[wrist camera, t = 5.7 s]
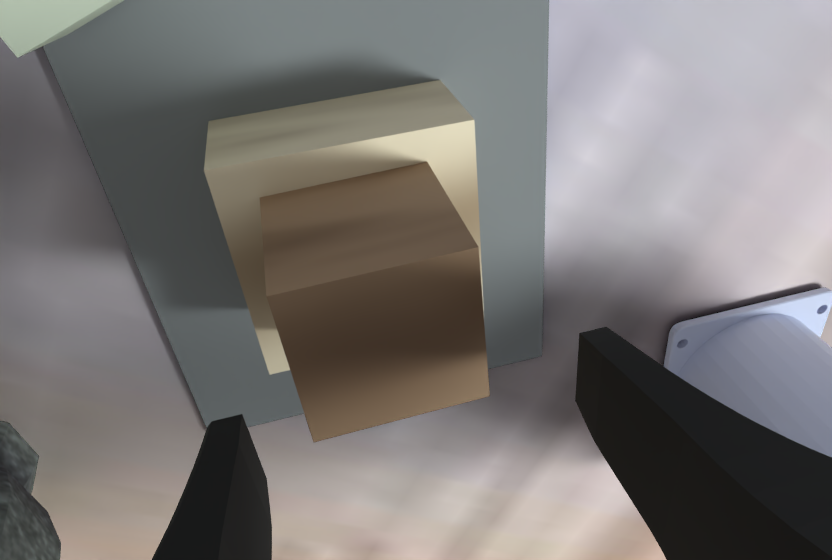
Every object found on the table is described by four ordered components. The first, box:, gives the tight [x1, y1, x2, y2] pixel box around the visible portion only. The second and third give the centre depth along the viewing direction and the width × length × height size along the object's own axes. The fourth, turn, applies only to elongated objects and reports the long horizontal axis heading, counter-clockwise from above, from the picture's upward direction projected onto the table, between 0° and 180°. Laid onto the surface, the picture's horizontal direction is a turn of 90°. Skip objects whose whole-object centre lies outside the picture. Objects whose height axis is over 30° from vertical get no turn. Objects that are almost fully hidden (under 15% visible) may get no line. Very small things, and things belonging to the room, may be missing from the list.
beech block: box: [204, 80, 484, 375], centre depth 20 cm, size 7×7×4 cm
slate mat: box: [43, 0, 549, 428], centre depth 21 cm, size 18×14×1 cm
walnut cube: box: [260, 162, 490, 442], centre depth 16 cm, size 4×4×4 cm
